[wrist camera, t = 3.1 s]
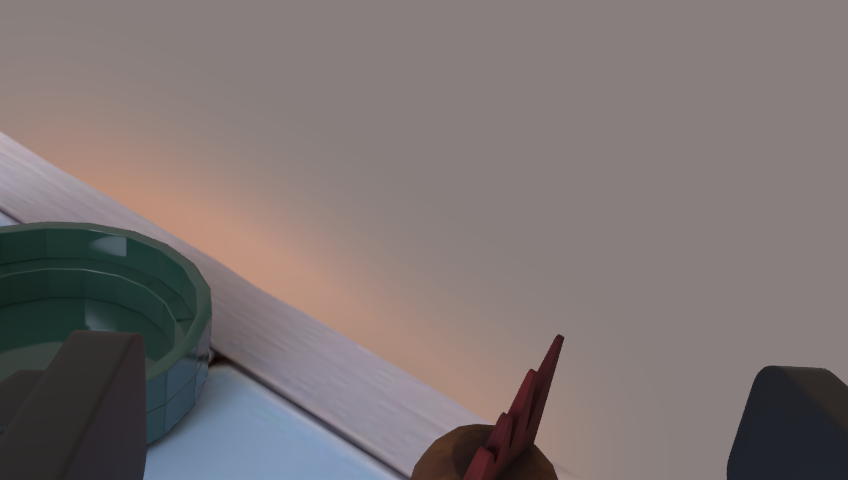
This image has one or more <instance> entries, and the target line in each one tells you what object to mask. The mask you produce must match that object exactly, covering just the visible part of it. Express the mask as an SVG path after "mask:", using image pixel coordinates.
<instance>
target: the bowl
mask: <svg viewBox="0 0 848 480" xmlns="http://www.w3.org/2000/svg"><path fill="white" fill-rule="evenodd" d="M211 323H212V306H211V291H210V287H209V286H208V284H207V283H206V281H205V280H204V278H203V276H202V275H201V273H200V272H199V270H198V269H197V267H196V266H195V265H194V263H192V262H191V261H190V260H188V259H187V258H185V257H184V256H183V255H181V254H180V253H179V252H177V251H176V250H174V249H173V248H172V247H170V246H169V245H168V244H165V243H163V242H160V241H157V240H155V239H152V238H150V237H147V236H145V235H142V234H140V233H137V232H135V231H130V230H125V229H119V228H114V227H109V226H103V225H98V224H93V223H92V224H91V223H75V222H38V223H29V224H20V225H11V226H2V227H0V382H1V381H3V380H4V379H6V378H7V377H9V376H10V375H12V374H14V373H15V372H17V371H18V370H44V371H45V370H46V369H47V367H48V366H49V364H50V363H51V361H52V360H53V358H54V357H55V355H56V354H57V352H58V351H59V349H60V348H61V346H62V345H63V343H64V342H65V341H66V339H67V338H68V336H69V335H70V333H71V332H72V331H74V330H95V331H115V332H135V333H141V334H142V336H143V339H144V345H145V369H146V412H147V445H148V444H149V443H151V442H153V441H155V440H157V439H158V438H160V437H162V436H163V435H165V434H166V433H167V432H168V431H169V430H170V429H171V428H172V427H173V426H174V425H175V424H176V423H177V422H178V421H179V420H180V419H181V418H182V417H183V416H184V415H185V414H186V413H187V412H188V411H189V410H190V409H191V408H192V407H193V405H194V404H195V402H196V400H197V397H198V395H199V393H200V391H201V388H202V386H203V384H204V382H205V379H206V377H207V374H208V361H209V348H210V336H211Z"/></svg>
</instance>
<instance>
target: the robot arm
mask: <svg viewBox="0 0 848 480" xmlns="http://www.w3.org/2000/svg"><path fill="white" fill-rule="evenodd" d="M146 453H147V412H146V369H145V345H144V339H143V336H142V334H141V333H135V332H115V331H95V330H74V331H72V332H71V333H70V335H69V336H68V338H67V339H66V341H65V342H64V343H63V345H62V346H61V348H60V349H59V351H58V352H57V354H56V355H55V357H54V358H53V360H52V361H51V363H50V364H49V366H48V367H47V369H46V370H45V371H44V370H18V371H17V372H15V373H14V374H12V375H10V376H9V377H7V378H6V379H4V380H3V381H1V382H0V480H143V475H144V470H145V463H146ZM727 480H848V386H847V385H846V384H844V383H843V382H842V381H841V380H840V379H839V378H838V377H836V376H835V375H834V374H833V373H832V372H830V371H829V370H826V369H823V368H810V367H791V366H767V367H764V368H763V369H762V370H761V371H760V372H759V373H758V374H757V376H756V378H755V380H754V382H753V385H752V388H751V392H750V394H749V397H748V400H747V404H746V406H745V410H744V413H743V416H742V419H741V422H740V425H739V428H738V431H737V435H736V437H735V440H734V443H733V446H732V450H731V452H730V456H729V460H728V464H727Z"/></svg>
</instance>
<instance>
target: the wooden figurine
mask: <svg viewBox="0 0 848 480" xmlns="http://www.w3.org/2000/svg"><path fill="white" fill-rule="evenodd" d="M563 340H564V337H563V336H561V335H559V334H558V335H557V336H556V338H555V339H554V341H553V343H552V345H551V347H550V349H549V351H548V353H547V354H546V356H545V358H544V360H543V362H542V364H541V366H540V368H539V370H538V371H537V372H536V371H534V370H533V369H530V370H529V371H528V373H527V375H526V377H525V379H524V381H523V383H522V385H521V387H520V389H519V391H518V393H517V395H516V397H515V399H514V401H513V403H512V406H511V407H510V410H509V412H508V414H506V413H504V412H503V413H502V414H501V415H500V417H499V419H498V421H497V423H496V425H482V424H473V425H466V426H460V427H457V428H456V429H454V430H452V431H451V432H449V433H447V434H445V435H444V436H442V437H440V438H439V439H437V440H435V442H434V443H433V444H432V445H431V446H430V447H429V448H428V449H427V451H426V452H425V453H424V454H423V456H422V457H421V458H420V460H419V461H418V462H417V464H416V465H415V467H414V470H413V473H412V476H411V478H410V480H558V478H557V475H556V473H555V470H554V467H553V465H552V464H551V462H550V461H549V460H548V459H547V458H546V457H545V455H544V454H543V453H542V452H541V451H540V450H539V448H538V447H537V446H536V445H534V440H535V437H536V434H537V430H538V427H539V424H540V420H541V417H542V414H543V410H544V406H545V403H546V400H547V396H548V393H549V389H550V386H551V382H552V379H553V375H554V372H555V368H556V365H557V361H558V358H559V354H560V351H561V347H562V344H563Z"/></svg>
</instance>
